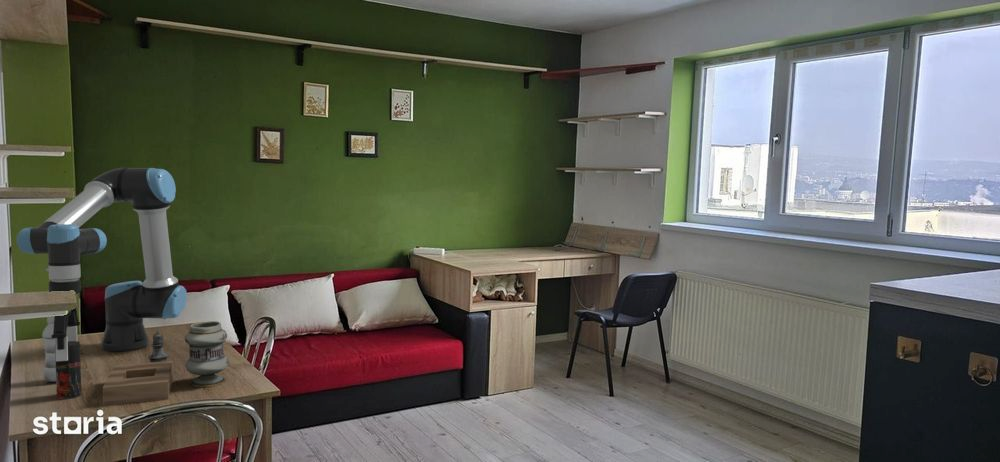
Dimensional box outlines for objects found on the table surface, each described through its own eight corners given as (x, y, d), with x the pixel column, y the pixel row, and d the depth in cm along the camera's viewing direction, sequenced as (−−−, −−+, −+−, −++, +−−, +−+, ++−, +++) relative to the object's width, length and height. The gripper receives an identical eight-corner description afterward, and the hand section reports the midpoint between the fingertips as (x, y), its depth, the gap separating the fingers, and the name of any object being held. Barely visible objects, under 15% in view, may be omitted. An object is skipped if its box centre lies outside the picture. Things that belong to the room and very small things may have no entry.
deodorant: (86, 394, 195) (84, 342, 194) (65, 400, 190) (63, 347, 189) (73, 391, 198) (71, 340, 196) (52, 397, 192) (50, 344, 191)
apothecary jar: (177, 382, 207) (176, 324, 205) (214, 373, 217) (213, 317, 215) (200, 390, 200) (199, 330, 198) (237, 380, 210) (236, 323, 208)
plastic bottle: (51, 378, 209) (48, 313, 207) (74, 377, 210) (71, 313, 208) (38, 384, 203) (36, 318, 201) (62, 384, 203) (60, 318, 202)
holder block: (114, 381, 207) (114, 365, 206) (173, 376, 213) (172, 360, 212) (103, 405, 187) (102, 387, 186) (168, 399, 193) (167, 381, 192)
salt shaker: (160, 369, 220) (159, 333, 218) (144, 368, 221) (143, 331, 220) (172, 364, 225) (171, 328, 224) (156, 363, 226) (155, 327, 225)
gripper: (58, 274, 201) (60, 345, 203) (37, 287, 178) (40, 367, 180) (88, 273, 204) (90, 343, 205) (71, 286, 181) (73, 364, 182)
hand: (67, 354), depth 192 cm, fingers open, 13 cm apart
